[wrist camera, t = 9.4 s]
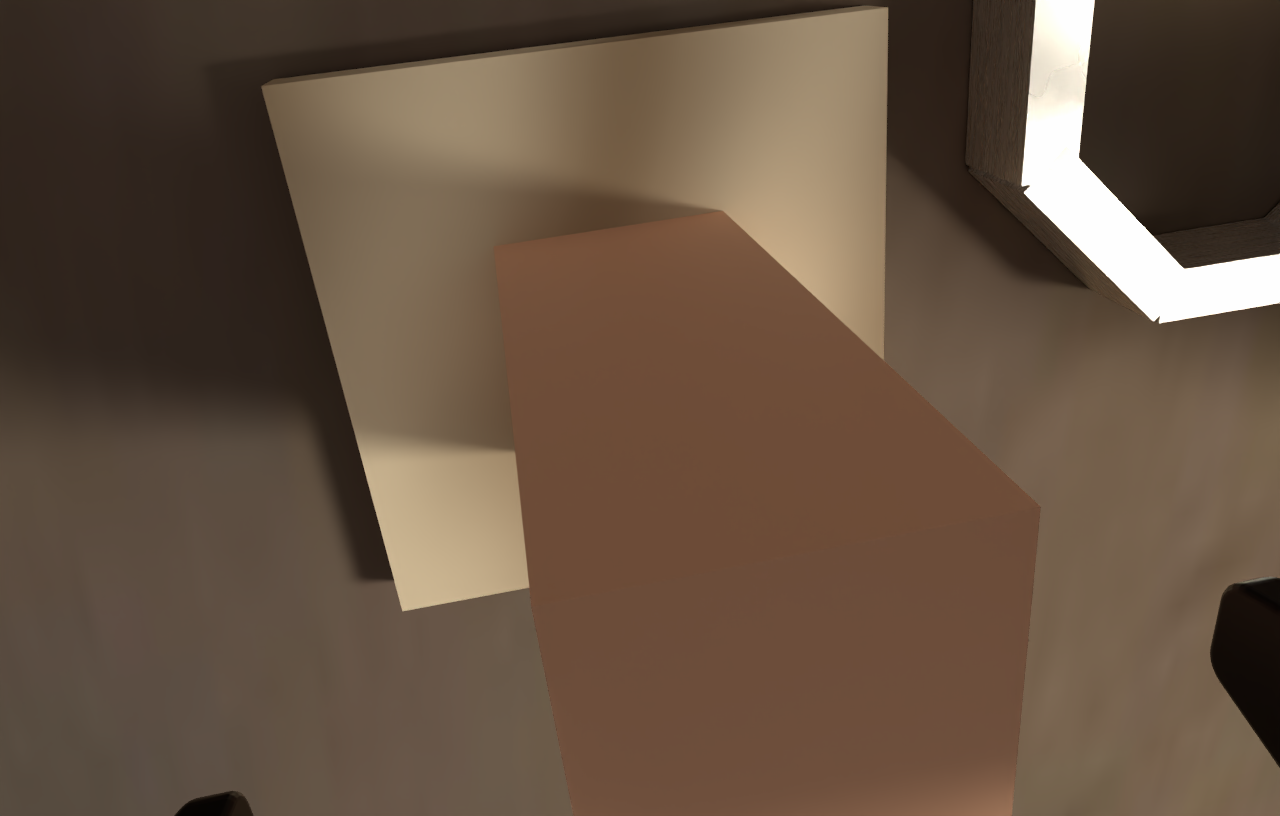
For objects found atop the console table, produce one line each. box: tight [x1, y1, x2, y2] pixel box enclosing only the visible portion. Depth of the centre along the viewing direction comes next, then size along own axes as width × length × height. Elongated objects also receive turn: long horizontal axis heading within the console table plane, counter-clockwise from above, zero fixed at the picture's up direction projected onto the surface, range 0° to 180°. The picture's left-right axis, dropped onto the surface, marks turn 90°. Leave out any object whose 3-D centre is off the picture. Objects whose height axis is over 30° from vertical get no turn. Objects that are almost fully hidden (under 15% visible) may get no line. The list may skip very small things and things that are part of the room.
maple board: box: [261, 5, 888, 611], centre depth 17 cm, size 10×10×1 cm
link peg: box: [494, 211, 1041, 816], centre depth 12 cm, size 4×4×10 cm
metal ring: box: [965, 0, 1280, 323], centre depth 16 cm, size 10×10×2 cm
